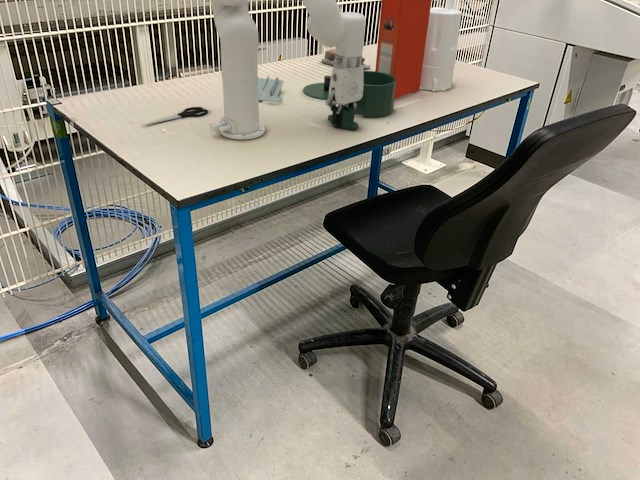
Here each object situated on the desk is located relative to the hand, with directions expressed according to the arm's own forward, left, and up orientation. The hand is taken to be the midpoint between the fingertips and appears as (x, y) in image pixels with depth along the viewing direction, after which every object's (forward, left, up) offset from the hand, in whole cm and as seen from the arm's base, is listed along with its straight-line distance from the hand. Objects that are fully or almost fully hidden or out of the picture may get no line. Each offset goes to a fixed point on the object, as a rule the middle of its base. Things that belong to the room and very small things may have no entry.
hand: (342, 122), depth 154 cm
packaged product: (+46, +45, -1) cm, 65 cm away
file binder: (+36, +10, -1) cm, 38 cm away
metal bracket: (-3, +35, -1) cm, 35 cm away
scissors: (-36, +34, -1) cm, 49 cm away
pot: (+16, +5, -1) cm, 17 cm away
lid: (+16, +24, 0) cm, 29 cm away
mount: (0, 0, -1) cm, 1 cm away
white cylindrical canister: (+55, +9, -1) cm, 56 cm away
